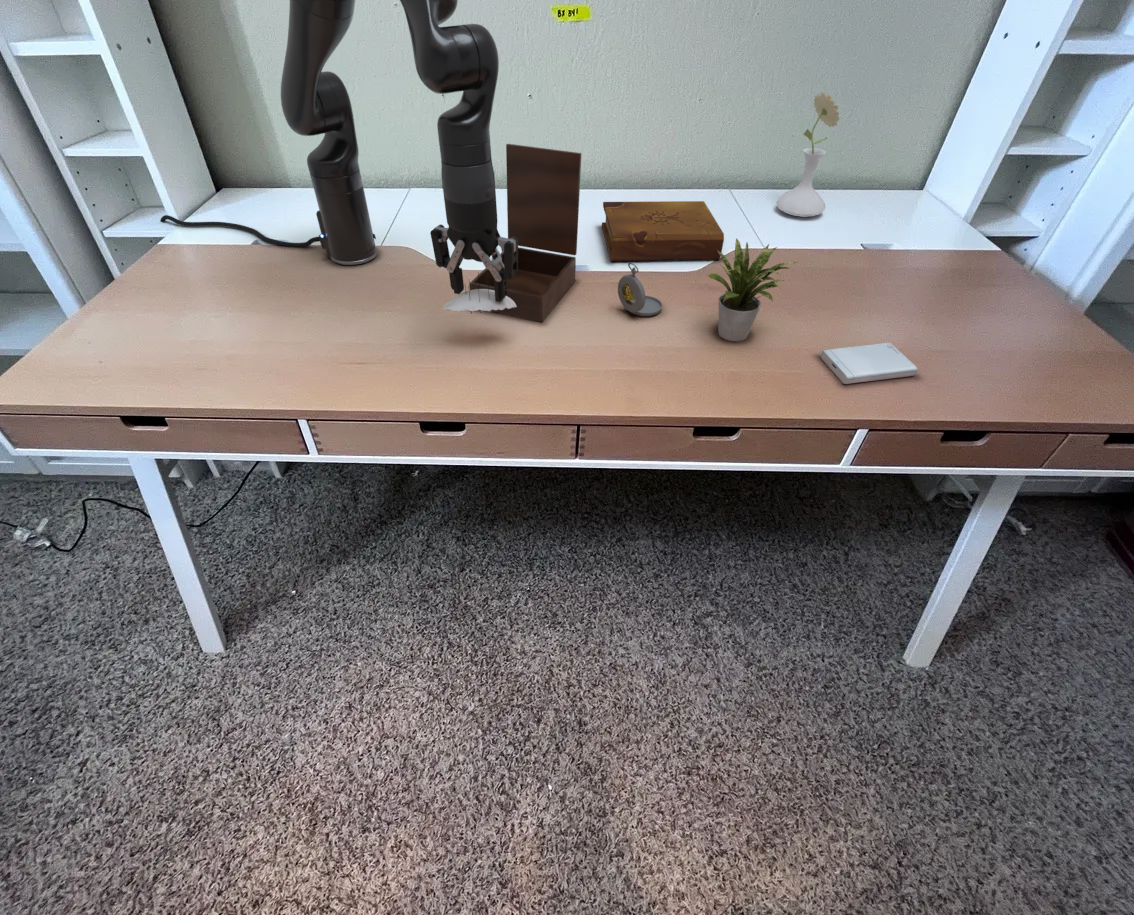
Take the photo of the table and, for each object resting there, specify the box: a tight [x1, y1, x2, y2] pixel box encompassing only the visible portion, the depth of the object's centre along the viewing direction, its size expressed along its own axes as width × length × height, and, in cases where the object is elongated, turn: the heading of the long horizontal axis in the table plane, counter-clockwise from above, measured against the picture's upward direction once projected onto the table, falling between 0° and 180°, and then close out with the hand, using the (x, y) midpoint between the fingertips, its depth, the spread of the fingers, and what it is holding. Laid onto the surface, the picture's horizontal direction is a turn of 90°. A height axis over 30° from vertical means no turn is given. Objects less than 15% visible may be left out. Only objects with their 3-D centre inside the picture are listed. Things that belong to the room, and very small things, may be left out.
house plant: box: [706, 238, 798, 342], centre depth 103 cm, size 14×14×16 cm
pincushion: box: [442, 272, 516, 315], centre depth 101 cm, size 12×6×6 cm, turn 96°
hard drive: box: [819, 342, 919, 385], centre depth 102 cm, size 2×8×12 cm
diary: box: [601, 200, 725, 262], centre depth 135 cm, size 23×19×6 cm
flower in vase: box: [775, 91, 840, 218], centre depth 143 cm, size 13×11×25 cm
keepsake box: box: [468, 246, 577, 324], centre depth 118 cm, size 17×14×5 cm
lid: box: [505, 143, 582, 256], centre depth 117 cm, size 18×14×1 cm
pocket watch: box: [617, 262, 663, 317], centre depth 112 cm, size 8×8×10 cm
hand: (479, 295), depth 102 cm, fingers closed on pincushion, 7 cm apart
